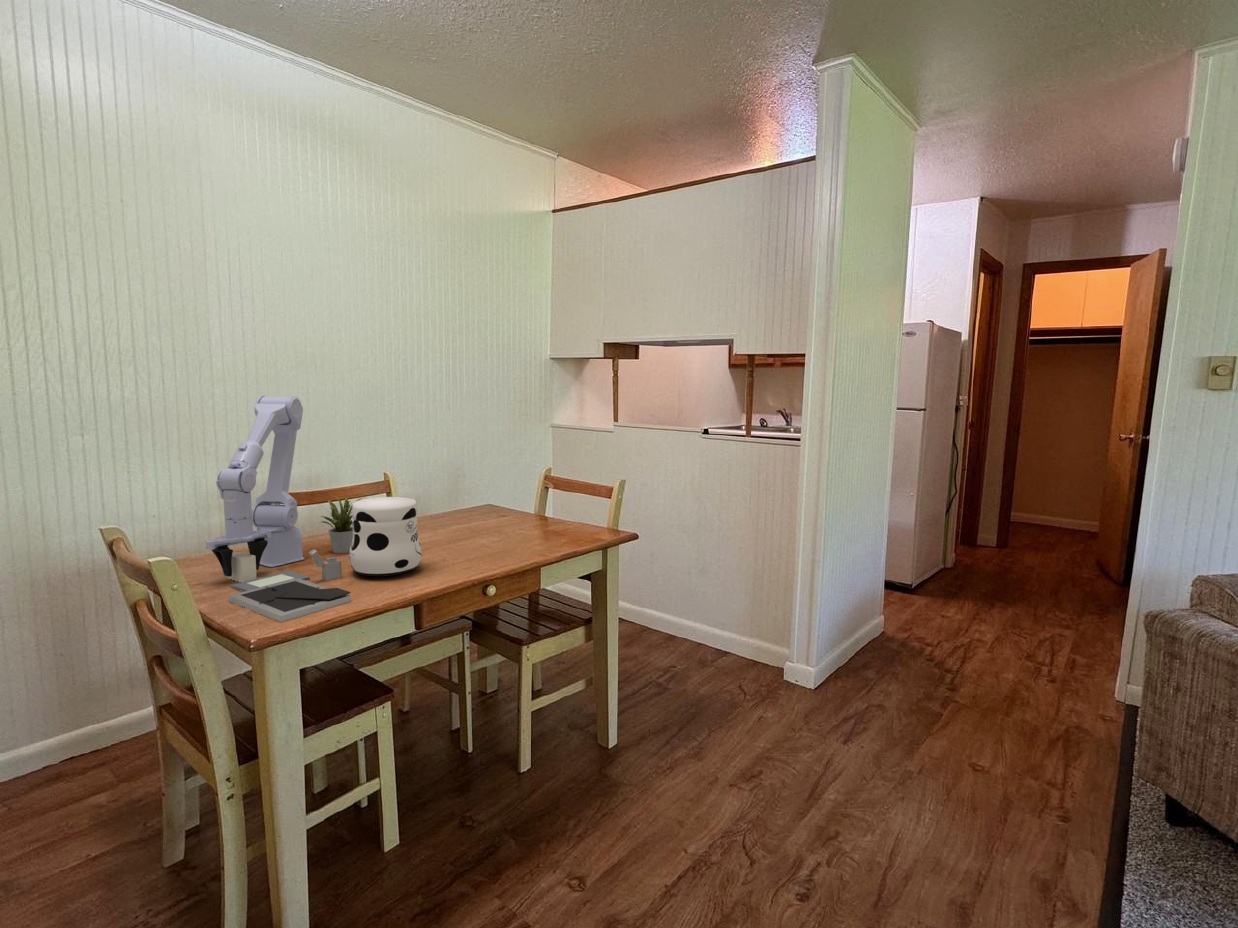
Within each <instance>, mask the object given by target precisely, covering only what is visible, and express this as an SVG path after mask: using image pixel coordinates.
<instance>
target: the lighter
mask: <svg viewBox="0 0 1238 928" xmlns="http://www.w3.org/2000/svg"><path fill="white" fill-rule="evenodd" d="M308 553H309V555H310V557H311V558H312V560H313V562H314V563H315V565H316V567H319V568H321V572H322V573H321V574H322V580H323V582H327V581H328V582H329V581H332V580H337V579H341V578H343V574H342V573H343V572H342V571H343V570H342V560H341V559H338V557H336V556H332V557H331V556H330V557H326V561H323V559H322V557H321V556H320V554H319V552H318V550H316V549H314V548H313V549H311V550H310V551H309V552H308Z"/></svg>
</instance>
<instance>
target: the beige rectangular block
mask: <svg viewBox="0 0 1238 928" xmlns="http://www.w3.org/2000/svg"><path fill="white" fill-rule="evenodd" d="M231 565H232V576H230V577H228V576H226V577H227V578H229V579H228V580H230V579H232V580H231V581H233V580H235V581H234V582H237V581H238V582H237V583H240V582H245V581H249V580H253V579H257V578H258V577H257V570H256V557H255V556H254V555H251V554H250V553H247V552H243V551H238V552H233V553H232V562H231Z"/></svg>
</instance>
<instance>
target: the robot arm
mask: <svg viewBox="0 0 1238 928" xmlns="http://www.w3.org/2000/svg"><path fill="white" fill-rule="evenodd" d="M253 409H254V415H255V419H254V421H253V425H252V427H251V430H250V432H249V435H248V437H247V439H246V441H243V442H240V443H239V445H238V446H237V448H236V450H235V453H234V455H233V456H232V459H231V461H230V462H229V463H228V466H227V467H225V468H223V469H222V470H220V471H219V473H218V474H217V479H216V481H215V482H216V483H215V484H216V487H217V489H218V491H219V493H220V498H221V500H223V511H224V512H223V514H224V527H225V528H224V531H225V535H223V536H220V537H216V538H213V539H208V540H205V549H206V550H209V551H212V552H213V554H214V556H215V557H216V558H217V561H218V562H219V564H220V566H221V567H220V568H221V569H222V572H223V575H224V576H225V577H227V576H228V577H230V576H232V565H231V562H232V553H234V549H232V548H230V546H234V545H239V544H243V543H247V547H248V551H249V554H251V555H254V556H255V557H256V571H258V570H260V569H259V568H260V565H261V566H265V567H269V568H274V567H278V566H279V567H280V566H283V565H287V564H290V563H296V562H300V561H303V560H305V557H303V556H304V555H303V552H304V551H303V536H302V535H303V534H302V533H301V530H300V528H299V527H297V526H296V525H297V521H298V517H299V512H298V501H297V500H296V499H295V497H293V496H292V495H291V494H289V490H290V489H289V488H290V482H291V475H292V469H293V468H292V467H293V462H294V455H295V448H296V442H297V433H298V431H299V430H300V429H301V427H302V420H303V414H304V408H303V405H302V403H301V400H300V399H299V397H297V396H294V395H293V396H292V395H291V396H274V395H273V396H272V395H271V396H268V395H260V396H259V397H258V398H257V400H256V401H255V405H254V406H253ZM272 432H273V433H274V436H273V437H274V438H273V444H272V450H271V451H272V452H271V457H270V464H269V471H268V477H267V483H266V491H265V492H263V493H262V494H260V495H258V497H256V498H255V504H254V506H253V508H252V491H253V490H254V488H255V487H256V483H257V475H258V474H257V473H258V472H257V468H258V467H259V465H260V463H261V460H262V459H263V456H264V454H265V452H264V450H263V448H262V447H263V445H264V444H265V443H266V441H267V439H268V437H270V435H271V433H272ZM254 527H255V528H256V530H253V528H254Z"/></svg>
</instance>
